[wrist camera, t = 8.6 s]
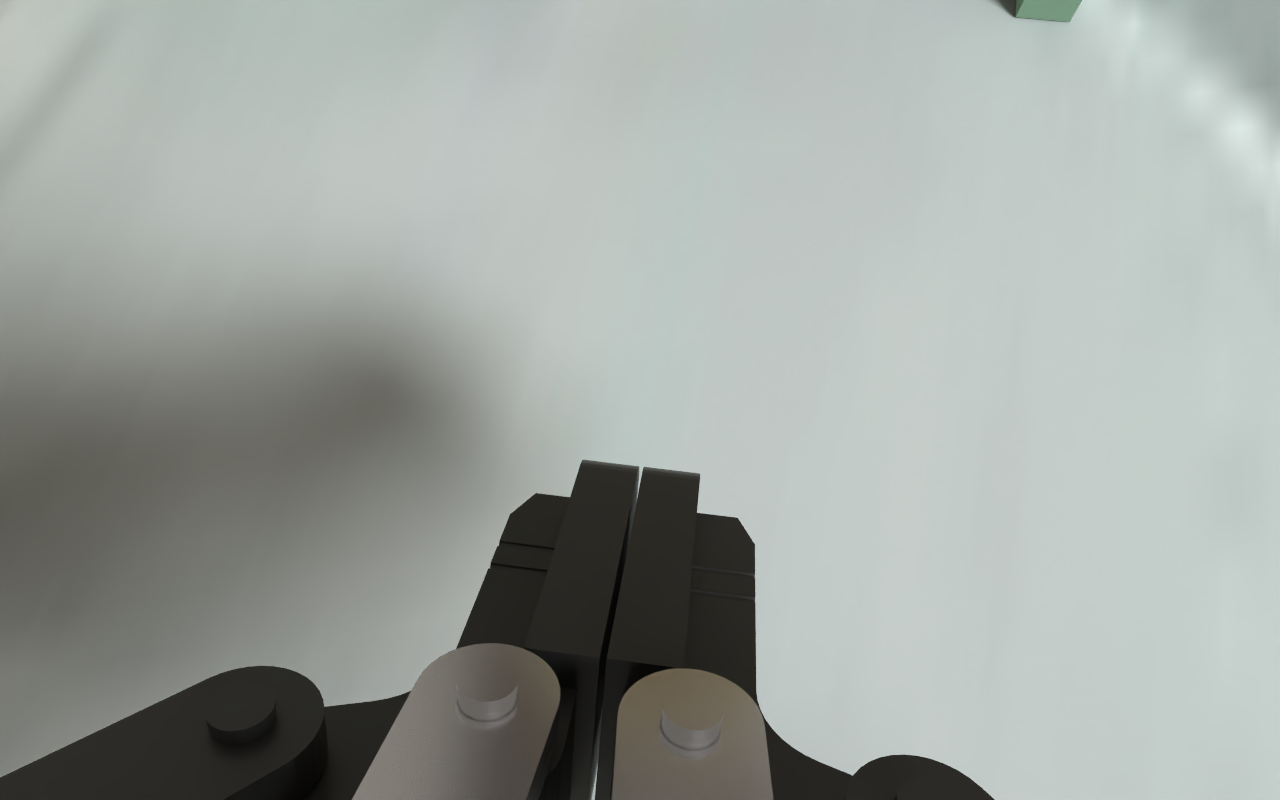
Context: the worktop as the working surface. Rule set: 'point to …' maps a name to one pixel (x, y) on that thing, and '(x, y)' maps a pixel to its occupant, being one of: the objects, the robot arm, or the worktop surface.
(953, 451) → the worktop surface
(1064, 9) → the open bin
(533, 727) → the robot arm
